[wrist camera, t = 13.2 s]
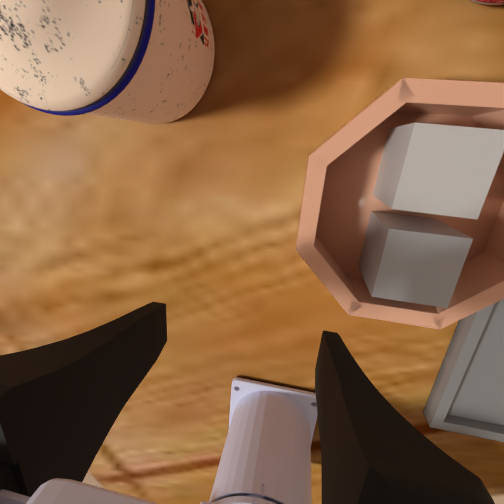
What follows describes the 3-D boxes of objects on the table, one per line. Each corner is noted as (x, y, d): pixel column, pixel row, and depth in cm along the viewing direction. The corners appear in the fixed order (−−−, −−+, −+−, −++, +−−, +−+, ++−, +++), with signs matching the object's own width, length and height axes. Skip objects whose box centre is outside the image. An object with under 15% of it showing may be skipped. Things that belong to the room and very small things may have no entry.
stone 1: (438, 202, 18) (477, 219, 14) (372, 195, 19) (391, 209, 14) (460, 134, 17) (511, 130, 12) (388, 128, 17) (415, 122, 13)
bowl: (472, 305, 20) (509, 340, 17) (291, 278, 22) (288, 305, 19) (555, 102, 16) (631, 88, 12) (317, 89, 18) (320, 73, 14)
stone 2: (417, 274, 20) (447, 308, 16) (358, 266, 20) (371, 296, 16) (435, 218, 18) (473, 238, 14) (370, 211, 19) (389, 228, 15)
